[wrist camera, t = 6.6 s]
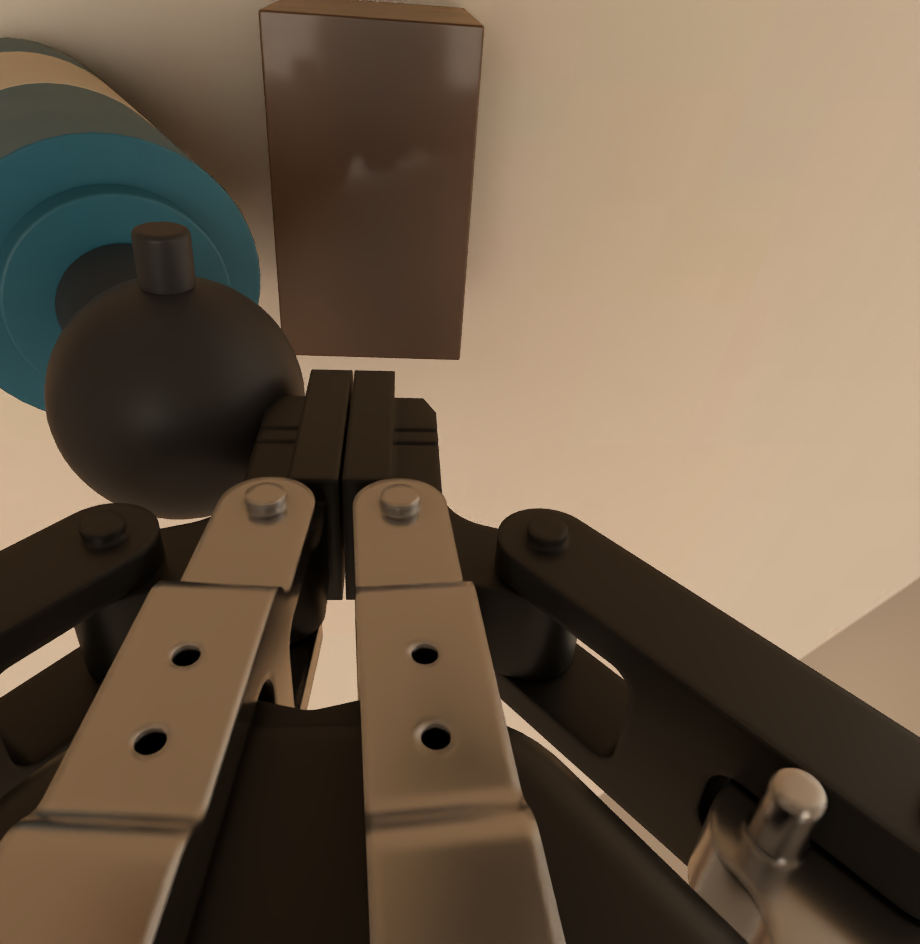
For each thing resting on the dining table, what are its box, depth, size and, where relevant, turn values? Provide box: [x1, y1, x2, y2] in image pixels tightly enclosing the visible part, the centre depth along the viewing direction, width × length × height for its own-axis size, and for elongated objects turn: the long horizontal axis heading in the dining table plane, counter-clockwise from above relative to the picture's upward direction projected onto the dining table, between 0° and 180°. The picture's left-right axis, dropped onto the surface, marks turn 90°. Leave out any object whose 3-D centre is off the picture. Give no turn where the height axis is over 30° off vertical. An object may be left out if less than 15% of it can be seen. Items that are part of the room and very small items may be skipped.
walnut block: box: [259, 0, 484, 360], centre depth 26 cm, size 6×10×7 cm, turn 176°
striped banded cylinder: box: [0, 38, 305, 519], centre depth 20 cm, size 17×7×19 cm, turn 84°
